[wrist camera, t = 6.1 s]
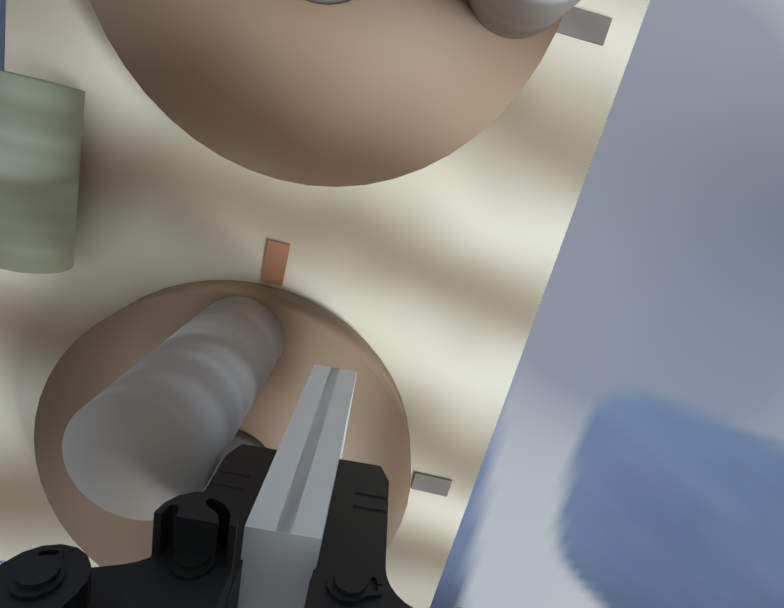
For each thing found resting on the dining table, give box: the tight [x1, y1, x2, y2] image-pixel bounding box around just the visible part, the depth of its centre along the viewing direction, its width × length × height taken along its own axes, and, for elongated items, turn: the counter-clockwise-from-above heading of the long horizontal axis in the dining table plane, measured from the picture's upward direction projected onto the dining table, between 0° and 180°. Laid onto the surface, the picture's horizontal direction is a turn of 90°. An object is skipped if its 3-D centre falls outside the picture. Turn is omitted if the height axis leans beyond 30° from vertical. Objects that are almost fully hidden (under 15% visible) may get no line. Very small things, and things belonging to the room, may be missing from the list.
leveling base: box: [0, 0, 650, 608], centre depth 18 cm, size 36×20×4 cm, turn 166°
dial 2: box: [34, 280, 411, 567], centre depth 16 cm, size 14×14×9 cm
